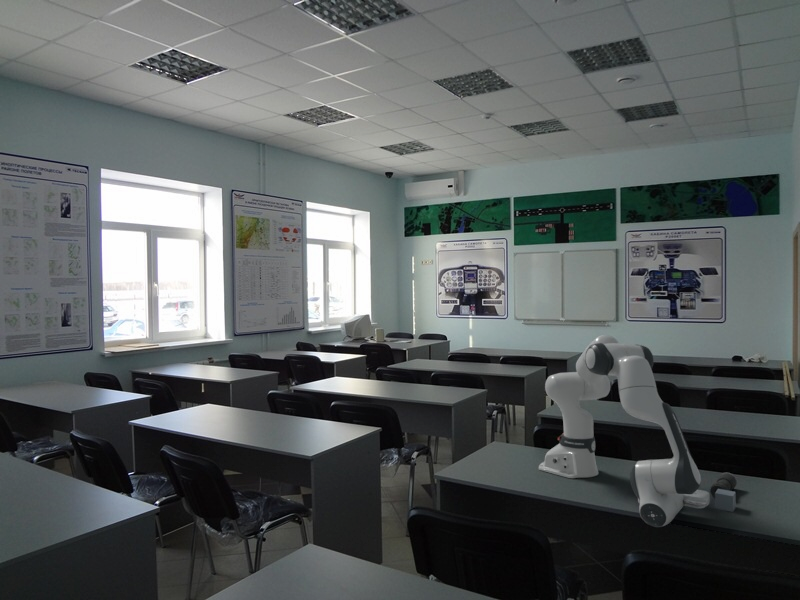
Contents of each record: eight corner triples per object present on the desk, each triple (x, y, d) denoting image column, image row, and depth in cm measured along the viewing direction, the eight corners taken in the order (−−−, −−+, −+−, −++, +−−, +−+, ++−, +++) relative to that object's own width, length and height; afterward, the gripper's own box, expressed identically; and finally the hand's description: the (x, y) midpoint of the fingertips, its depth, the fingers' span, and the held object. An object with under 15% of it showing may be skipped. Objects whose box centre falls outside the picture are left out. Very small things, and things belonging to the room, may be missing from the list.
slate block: (715, 508, 178) (714, 492, 178) (718, 503, 182) (717, 488, 182) (733, 512, 175) (732, 496, 175) (735, 507, 179) (735, 491, 179)
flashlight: (727, 502, 184) (727, 486, 184) (709, 498, 187) (708, 482, 187) (737, 489, 195) (736, 474, 195) (719, 486, 199) (719, 471, 199)
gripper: (705, 495, 164) (714, 483, 174) (632, 482, 176) (645, 470, 187) (705, 517, 164) (714, 503, 174) (633, 501, 176) (645, 489, 187)
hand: (678, 486), depth 181 cm, fingers open, 8 cm apart
